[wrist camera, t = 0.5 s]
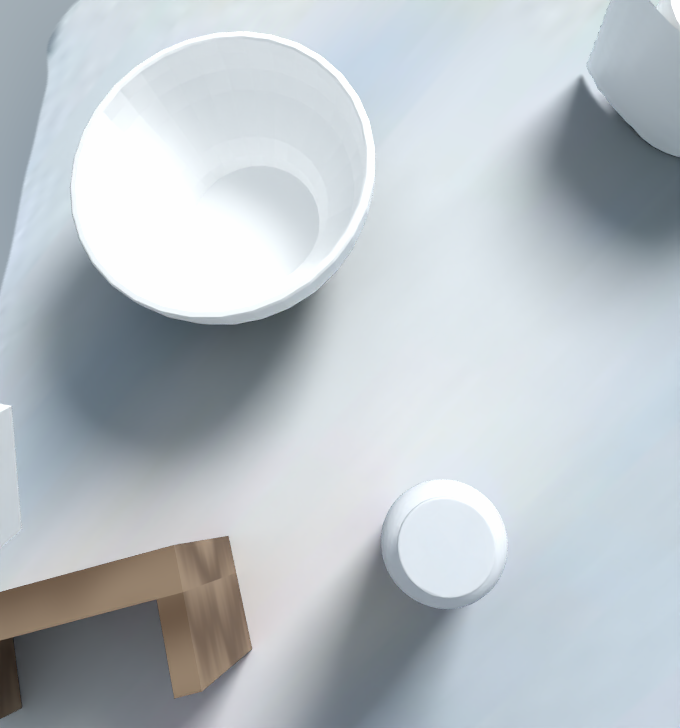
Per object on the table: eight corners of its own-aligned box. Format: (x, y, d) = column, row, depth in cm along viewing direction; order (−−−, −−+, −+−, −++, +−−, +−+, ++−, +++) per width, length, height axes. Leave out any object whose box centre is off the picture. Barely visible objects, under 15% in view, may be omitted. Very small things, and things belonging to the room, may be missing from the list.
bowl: (218, 79, 53) (174, -12, 43) (431, 177, 48) (433, 100, 39) (87, 281, 50) (11, 231, 41) (299, 402, 46) (268, 378, 37)
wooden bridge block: (252, 649, 43) (201, 691, 33) (1, 713, 44) (-118, 772, 34) (228, 535, 45) (174, 545, 35) (-12, 600, 46) (-129, 626, 36)
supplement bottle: (442, 609, 42) (450, 654, 30) (368, 536, 44) (346, 549, 31) (511, 533, 42) (547, 546, 30) (436, 463, 44) (440, 447, 32)
